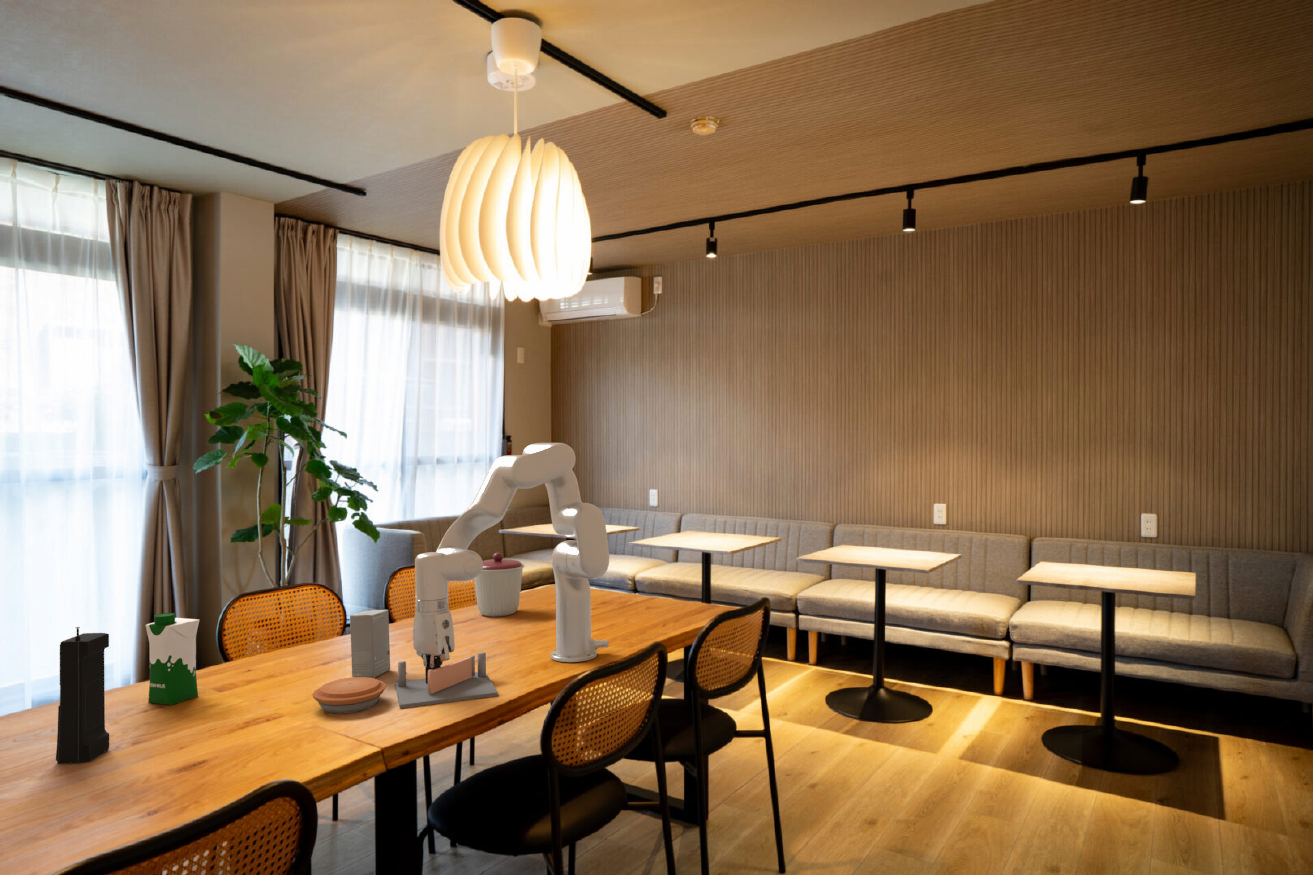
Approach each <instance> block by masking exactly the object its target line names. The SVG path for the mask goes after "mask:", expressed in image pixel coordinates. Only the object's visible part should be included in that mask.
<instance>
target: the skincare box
mask: <svg viewBox="0 0 1313 875" xmlns="http://www.w3.org/2000/svg"><path fill="white" fill-rule="evenodd" d="M389 618H390V617H389V609H368V610H364V611H359V612H357V613H353V614H351V615H350V616H349V620H350V621H349V624H350V626H349V628H350V647H351V648H350V650H351V654H350V656H351V678H353V677H370V678H375V679H377V677H379V676H381V675H382V674H385V673H386V672H388V671H390V670H391V652H390V649H391V648H390V645H391V644H390V622H389Z"/></svg>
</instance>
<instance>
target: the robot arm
mask: <svg viewBox="0 0 1313 875" xmlns="http://www.w3.org/2000/svg"><path fill="white" fill-rule="evenodd" d="M576 460H577V459H576V454H575V451H574V450H573V448H572V446H570V445H568V444H566V443H564V442H535V443H531V444H529V445H527V446H526V447H524V449H523V451H522V454H510V455H509V454H508V455H507V454H506V455H502V456H499V457H497V458H496V459H495V460H494V461H493V462H492V464H491V466H490V468H489V470H488V471H487V474H486V476H485V477H484V480H483V482H482V484H481V485H480V488H479V489H478V491H477V493H476V494H475V496H474V499H473V501H472V503H471V504H470V505H469V507H467V508H466V509H465V510H464V512H462V514H461V515H459V517H458V518H456V519H455V521H453V523H452V524H451V525H450V526H449V528H448V529H447V530H446V532H445V534H444V535H443V537H442V539H441V541H440V543H439V545H438V547H437V549H436V551H430V552H429V551H428V552H423V553H419V554H418V555H416V557H415V559H414V578H415V580H414V582H415V583H414V584H415V585H414V586H415V587H414V588H415V592H414V593H415V595H414V596H415V610H414V611H415V612H414V619H413V626H412V627H413V629H412V630H413V631H412V641H413V642H412V644H413V649H414V650H415V651H416V655H417V656H419V657H420V658H422V660H423V661H422V663H423V666H424V667H425V669H424V670H425V678H426V684H428V670H435V669H437V668H440V667H442V666H443V662H446V661H449V660H450V659H451V657H450V653H453V652H454V651H455V647H456V645H455V642H456V641H455V631H454V622H453V616H452V613H451V610H449V602H450V601H449V582H469V581H472V580H474V578H476V577H477V576H478V575H479V574H480V573H481V571H482V569H483V561H484V560H483V559H482V557H481V555H480V554H478V552H476V551H474V550H470V549H469V547H470V545H471V543H472V542H473V541H474V540H475V538H477V536H479V535H480V534H481V533H483V532H484V531H487V530H488V529H490V528H491V527H493V526H495V525H497V524H498V523H500V522H501V521H502V520H503V518H504V517H505V515H506V512H507V511H508V508H509V506H510V505H511V502H512V501H513V498H514V496H516V493H517V491H518V489H519V490H521V489H522V490H523V489H524V490H527V489H533V488H536V487H538V486H541V485H545V488H546V491H547V496H548V501H549V502H548V503H549V509H550V517H551V524H552V528H553V530H554V533H556V534H557V535H559V536H562V537H566V538H575V539H576V540H574V539H573V540H570V539H569V540H564V541H562V542H560V543H558V544H557V545H556V546H555V547H554V548H553V552H552V553H551V554H552V555H551V566H552V572H553V576H554V583H555V584H554V585H555V586H554V587H555V637H556V640H555V641H556V642H555V644H556V645H555V646H556V649H554V650H552V651H551V652H550V658H551V659H552V660H554V661H556V662H559V663H560V662H561V663H579V662H586V661H587V662H588V661H590V660H593V659H595V658H596V657H597V655H598V651H597V650H598V648H600V649H601V648H603V649H604V648H609V640H608V639H603V640H601V639H593V637H592V608H591V607H592V605H591V604H592V602H591V601H592V600H591V599H592V596H591V594H592V592H591V585H590V581H589V580H597V579H600V578H601V577H603V576H605V574H606V573H607V571H608V568H609V566H610V550H609V542H608V541H609V540H608V534H607V533H608V532H607V528H606V520H605V517H604V515H603V512H602V510H600V508H599V507H598V506H596V505H595V504H592V503H589V502H583V501H582V498H581V492H580V487H579V483H578V482H579V481H578V479H577V476H576V474H575V472H574V471H573V468H575V467H574V466H575V465H576Z"/></svg>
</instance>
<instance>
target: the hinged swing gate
mask: <svg viewBox="0 0 1313 875" xmlns="http://www.w3.org/2000/svg"><path fill="white" fill-rule="evenodd" d="M394 687H395V691H396V698H397V702H398V706H399V709H407V708H415V707H421V706H422V707H423V706H430V705H435V704H445V703H453V702H454V703H455V702H460V701H468V700H475V699H476V698H477V699H484V698H491V697H492V698H493V697H498V696H499V692H498V690H497V688H496V687H495V686H494V683H493V682H492V680H491V679H490V677H489V676H488V674H487V653H486V652H483V651H481V652H478V653H477V671H475V676H474V677H471V678H469V679H466V680H464V681H461V682H459V683H457V684H454V685H452V686H449V687H447V688H445V689H442V690H440V691H437V692H435V693H433V694H429V693H428V684H426V677H423V678H415V679H409V680H407V661H406V660H401V661H400V660H399V661H397V681H395V682H394Z"/></svg>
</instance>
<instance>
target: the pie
mask: <svg viewBox="0 0 1313 875" xmlns="http://www.w3.org/2000/svg"><path fill="white" fill-rule="evenodd" d="M386 689H387V685H386V683H385V682H383V681H382V680H379V679H377V678H370V677H347V678H346V677H345V678H340V679H336V680H333V681H329V682H327V683H324V684H323V685H321V686H320V687H318V688H317V689H315V690H314V691H313V692H312V694H311V695H312V698H313V699H314V700H315V701H316V702H318V705H319V706H320V707H321V709H322V710H323V711H324V712H326V713H330V714H351V713H356V712H361V710H362V711H365V710H367V709H370V708H372V707H374V706H375V705H376V704H377V703H378V701H379V699H380V697H381V695H382V694H383V693H384V691H385V690H386Z"/></svg>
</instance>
